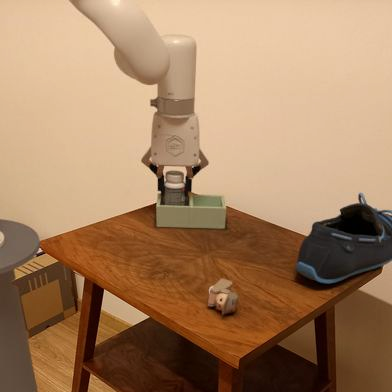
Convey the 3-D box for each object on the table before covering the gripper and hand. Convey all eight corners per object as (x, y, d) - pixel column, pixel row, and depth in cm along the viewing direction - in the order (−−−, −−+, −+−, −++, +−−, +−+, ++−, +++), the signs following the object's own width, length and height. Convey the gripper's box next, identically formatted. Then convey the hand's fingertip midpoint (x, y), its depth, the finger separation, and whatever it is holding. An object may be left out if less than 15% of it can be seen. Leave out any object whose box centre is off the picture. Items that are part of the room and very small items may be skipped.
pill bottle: (185, 214, 115) (187, 176, 110) (165, 214, 115) (165, 176, 110) (183, 206, 119) (184, 169, 114) (163, 206, 118) (163, 169, 113)
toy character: (198, 289, 84) (232, 301, 82) (216, 274, 90) (247, 284, 89) (194, 311, 86) (227, 323, 84) (212, 294, 92) (243, 305, 91)
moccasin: (415, 250, 113) (434, 197, 106) (352, 302, 89) (372, 239, 82) (356, 230, 119) (371, 179, 112) (283, 275, 95) (297, 213, 89)
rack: (156, 227, 115) (156, 206, 112) (157, 213, 121) (157, 193, 118) (224, 228, 115) (226, 208, 113) (222, 215, 122) (224, 195, 119)
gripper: (132, 108, 100) (135, 199, 111) (218, 112, 101) (213, 202, 112) (135, 100, 106) (137, 187, 117) (216, 104, 107) (211, 190, 118)
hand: (174, 193), depth 114 cm, fingers closed on pill bottle, 4 cm apart
